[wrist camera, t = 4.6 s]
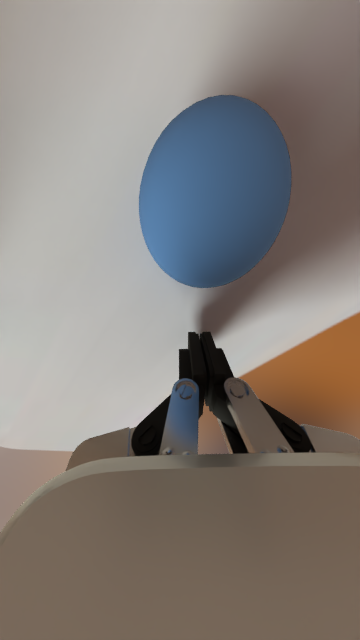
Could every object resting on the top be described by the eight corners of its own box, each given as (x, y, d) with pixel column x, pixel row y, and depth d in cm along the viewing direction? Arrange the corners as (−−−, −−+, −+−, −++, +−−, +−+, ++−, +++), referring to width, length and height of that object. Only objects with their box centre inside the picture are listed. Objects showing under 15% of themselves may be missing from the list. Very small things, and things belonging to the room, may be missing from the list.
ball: (158, 277, 10) (137, 310, 5) (145, 166, 7) (66, -18, 2) (238, 273, 10) (301, 302, 5) (255, 158, 7) (440, -56, 2)
